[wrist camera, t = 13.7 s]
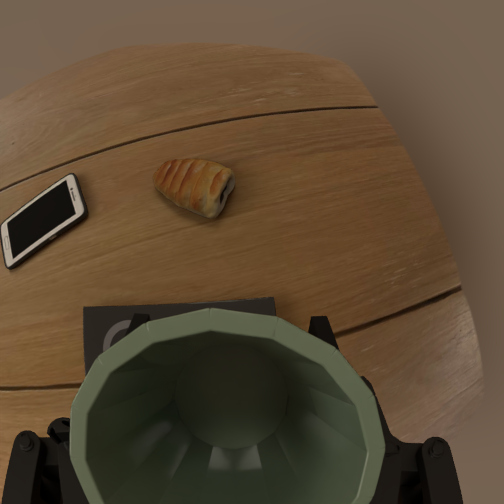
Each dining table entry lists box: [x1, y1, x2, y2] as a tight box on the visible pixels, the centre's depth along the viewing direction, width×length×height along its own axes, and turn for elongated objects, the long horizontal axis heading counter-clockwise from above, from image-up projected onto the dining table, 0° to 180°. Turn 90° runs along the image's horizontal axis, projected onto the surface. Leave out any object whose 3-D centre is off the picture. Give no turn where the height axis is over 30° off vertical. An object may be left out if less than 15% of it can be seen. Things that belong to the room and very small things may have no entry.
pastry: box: [153, 159, 235, 219], centre depth 33 cm, size 9×7×4 cm
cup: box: [70, 308, 385, 504], centre depth 11 cm, size 7×7×12 cm
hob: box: [83, 297, 276, 377], centre depth 27 cm, size 20×16×2 cm
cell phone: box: [0, 173, 88, 270], centre depth 32 cm, size 8×15×1 cm, turn 122°
